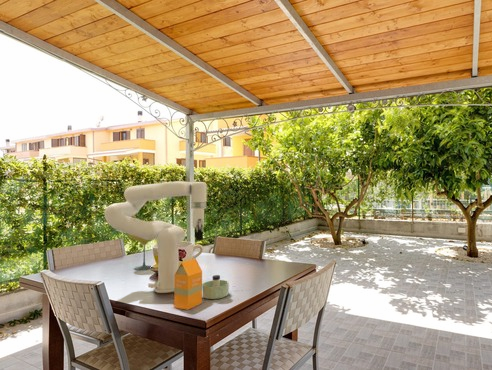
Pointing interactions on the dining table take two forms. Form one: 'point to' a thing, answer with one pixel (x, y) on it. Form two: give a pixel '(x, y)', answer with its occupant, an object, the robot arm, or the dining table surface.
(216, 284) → the vial
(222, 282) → the bowl
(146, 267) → the cocktail glass
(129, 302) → the dining table surface
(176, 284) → the orange juice
